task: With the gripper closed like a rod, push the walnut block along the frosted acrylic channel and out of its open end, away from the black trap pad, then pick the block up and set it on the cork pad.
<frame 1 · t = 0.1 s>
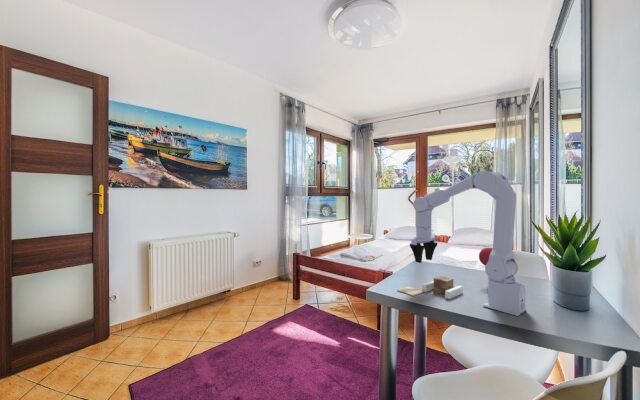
hand: (423, 261, 107), 10 cm above the table, tool pointing down, fingers open, 7 cm apart
block: (443, 291, 100), on the table
lollipop: (489, 284, 110), on the table
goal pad: (410, 291, 100), on the table
channel: (442, 292, 100), on the table
trap pad: (451, 288, 104), on the table
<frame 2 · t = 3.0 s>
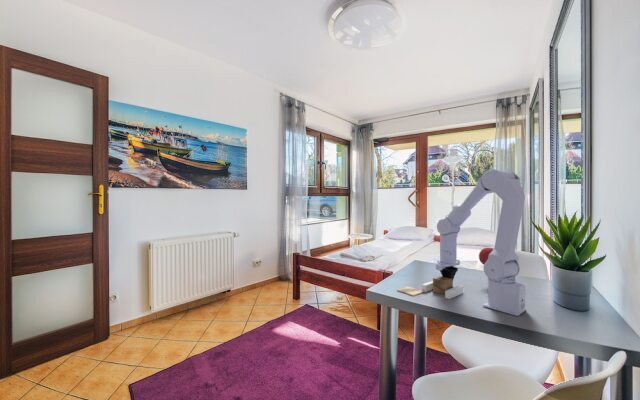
hand: (448, 286, 103), 1 cm above the table, tool pointing down, fingers closed
block: (442, 291, 100), on the table, touching gripper
everything else where it was.
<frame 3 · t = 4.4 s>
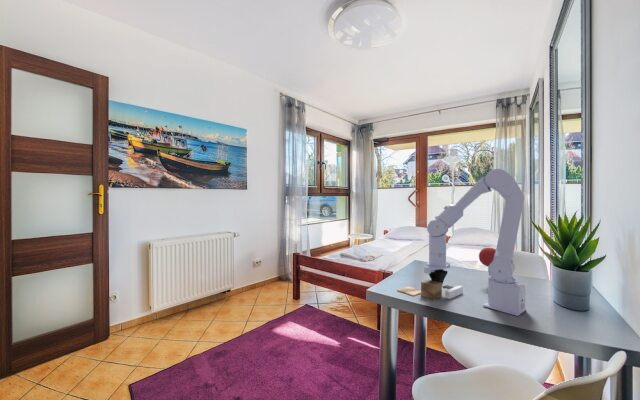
hand: (437, 290, 98), 1 cm above the table, tool pointing down, fingers closed
block: (431, 296, 95), on the table, touching gripper
everything else where it was.
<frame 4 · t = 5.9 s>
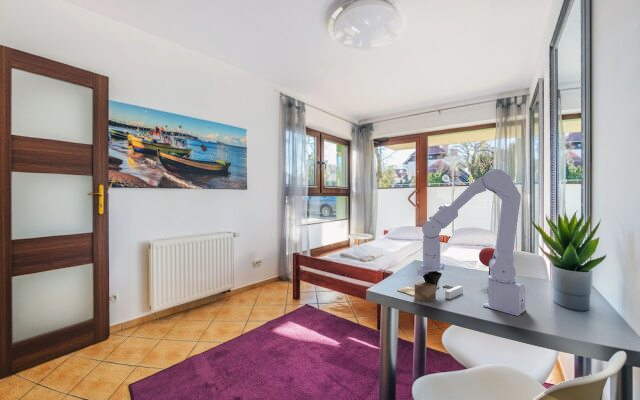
hand: (431, 292, 95), 1 cm above the table, tool pointing down, fingers closed
block: (425, 298, 93), on the table, touching gripper
everything else where it was.
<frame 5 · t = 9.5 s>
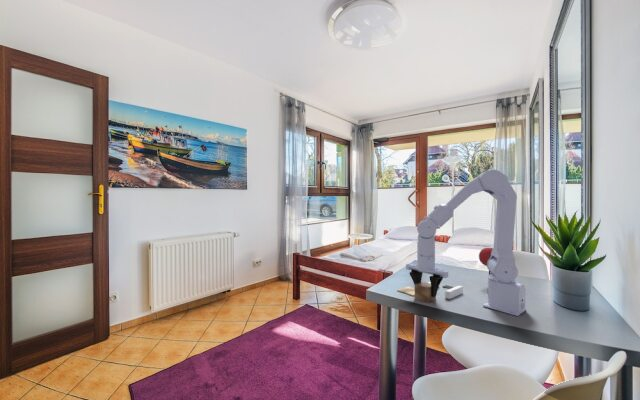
hand: (426, 294, 93), 2 cm above the table, tool pointing down, fingers closed on block, 5 cm apart
block: (425, 299, 93), on the table, touching gripper
everything else where it was.
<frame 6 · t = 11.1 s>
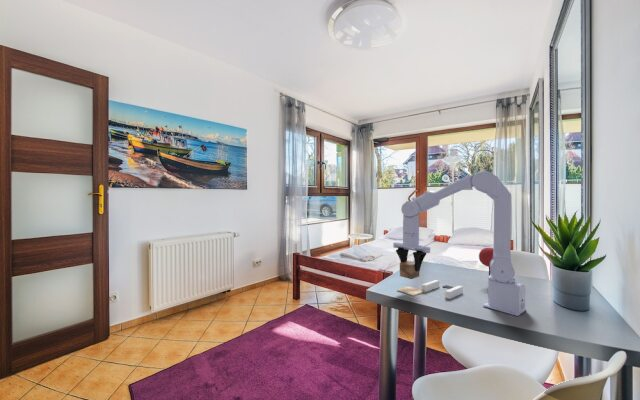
hand: (410, 269, 100), 8 cm above the table, tool pointing down, fingers closed on block, 5 cm apart
block: (409, 276, 100), point 6 cm above the table, touching gripper
everything else where it was.
when the fingers open (3 cm above the table, at t = 12.6 s): block stays where it is, resting on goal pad.
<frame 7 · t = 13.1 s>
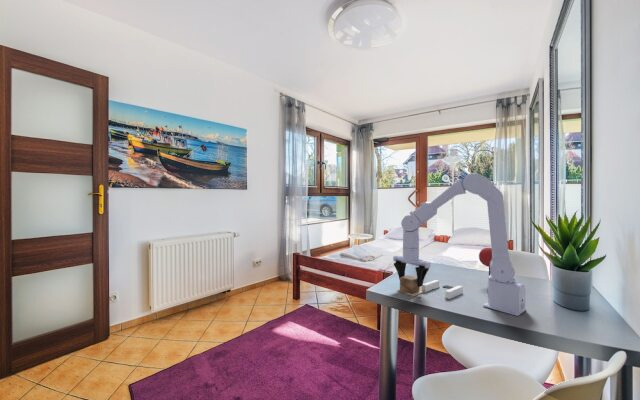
hand: (410, 283, 100), 3 cm above the table, tool pointing down, fingers open, 7 cm apart
block: (409, 290, 100), resting on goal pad
everything else where it was.
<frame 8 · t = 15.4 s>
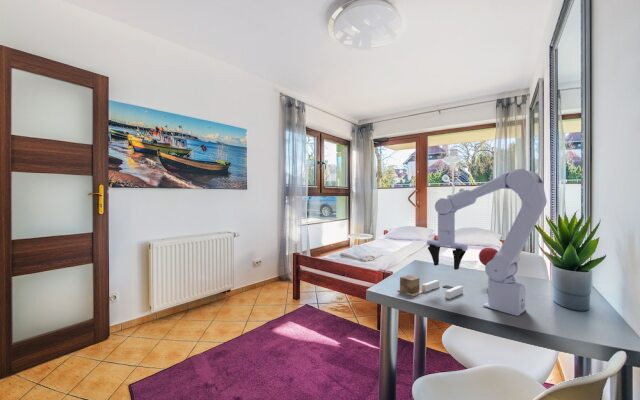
hand: (446, 267, 100), 9 cm above the table, tool pointing down, fingers open, 7 cm apart
nothing on the table moved.
at the end: block inside the target area on the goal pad (0.8 cm from its centre), point 0.4 cm above the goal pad's base; block tilted 0°; the gripper is holding nothing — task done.
